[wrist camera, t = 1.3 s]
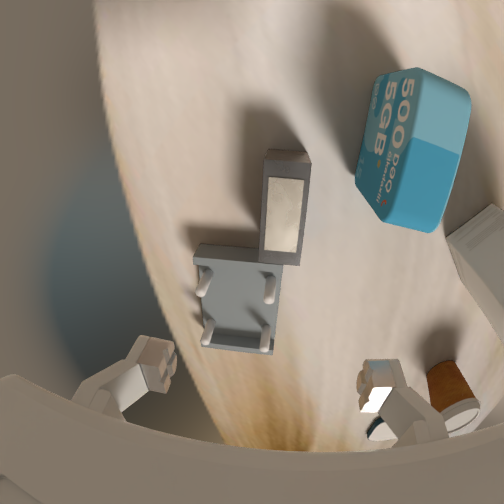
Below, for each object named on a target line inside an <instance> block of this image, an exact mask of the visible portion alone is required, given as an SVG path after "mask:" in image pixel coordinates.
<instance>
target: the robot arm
mask: <svg viewBox="0 0 504 504" xmlns="http://www.w3.org/2000/svg"><path fill="white" fill-rule="evenodd" d="M174 348H175V347H174V343H173V342H172V341H167V340H162V339H158V338H153V337H148V336H143V335H140V336H139V337H138V339H137V340H136V342H135V344H134V345H133V347H132V349H131V351H130V353H129V354H128V356H127V358H126V359H125V360H121V361H119V362H117V363H115V364H114V365H112V366H110V367H108V368H106V369H104V370H103V371H101V372H99V373H97V374H95V375H93V376H92V377H90V378H88V379H86V380H84V381H83V382H82V383H81V385H80V386H79V388H78V390H77V391H76V393H75V395H74V396H73V398H72V400H71V401H69V400H67V399H65V398H62V397H60V396H58V395H56V394H54V393H52V392H49V391H47V390H45V389H43V388H41V387H39V386H37V385H35V384H33V383H32V382H30V381H28V380H26V379H24V378H22V377H21V376H19V375H15V374H12V375H8V376H5V377H3V378H0V504H504V423H501V424H497V425H494V426H491V427H488V428H485V429H481V430H478V431H474V432H471V433H467V434H463V435H459V436H455V437H451V438H449V435H448V432H447V428H446V425H445V422H444V418H443V416H442V415H441V414H440V413H439V412H438V411H437V410H435V409H434V408H433V407H432V406H431V405H430V404H429V403H428V402H427V401H426V400H424V399H423V398H422V397H421V396H420V395H419V394H418V393H417V392H416V391H414V390H413V389H412V388H411V387H407V384H406V380H405V377H404V374H403V371H402V368H401V364H400V361H399V360H398V359H366V360H365V361H364V363H363V370H362V371H360V372H359V374H358V377H357V392H358V393H359V394H360V395H361V396H360V398H359V400H358V401H359V407H360V412H378V414H379V415H380V416H381V418H382V419H383V420H384V421H385V423H386V424H387V425H388V427H389V428H390V429H391V430H392V432H393V433H394V434H395V435H396V437H397V438H398V439H399V440H398V441H397V442H396V443H395V444H394V445H393V446H392V448H386V449H376V450H364V451H347V452H295V451H277V450H264V449H254V448H245V447H237V446H229V445H223V444H216V443H211V442H205V441H199V440H194V439H189V438H185V437H180V436H176V435H171V434H167V433H163V432H160V431H155V430H152V429H148V428H145V427H141V426H138V425H135V424H131V423H128V422H126V420H125V418H124V417H123V415H122V413H121V412H122V411H123V410H125V409H126V408H127V407H129V406H130V405H131V404H132V403H134V402H135V401H136V400H137V399H139V398H140V397H141V396H143V395H144V394H145V393H146V392H148V390H151V391H156V392H161V393H167V391H168V388H169V386H170V383H171V381H170V377H171V376H172V375H173V374H174V373H175V370H176V365H177V357H176V354H175V353H174V352H173V351H174Z"/></svg>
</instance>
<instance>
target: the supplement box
mask: <svg viewBox="0 0 504 504" xmlns="http://www.w3.org/2000/svg"><path fill="white" fill-rule="evenodd" d="M446 241H447V243H448V246H449V248H450V251H451V254H452V256H453V259H454V262H455V264H456V267H457V270H458V273H459V276H460V279H461V281H462V283H463V284H464V286H465V287H466V288H467V290H468V291H469V293H470V294H471V296H472V297H473V298H474V300H475V301H476V303H477V304H478V306H479V307H480V308H481V310H482V311H483V313H484V314H485V316H486V317H487V319H488V321H489V322H490V324H491V325H492V327H493V329H494V330H495V332H496V333H497V335H498V337H499V338H500V340H501V342H502V344H503V345H504V211H503V210H501V209H500V208H498V207H497V206H496V205H494V204H493V203H491V204H490V205H489V206H487V207H486V208H485V209H484V210H482V211H481V212H480V213H478V214H477V215H476V216H475V217H473V218H472V219H471V220H469V221H468V222H467V223H465V224H464V225H463V226H461V227H460V228H458V229H457V230H456V231H454V232H453V233H452V234H450V235H449V236H447V237H446Z"/></svg>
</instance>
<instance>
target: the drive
mask: <svg viewBox="0 0 504 504" xmlns="http://www.w3.org/2000/svg"><path fill="white" fill-rule="evenodd" d="M311 164H312V163H311V161H310V158H309V155H308V153H307V152H301V151H290V150H278V149H268V151H267V153H266V156H265V158H264V167H263V186H262V205H261V224H260V242H259V260H258V262H262V263H273V264H284V265H295V266H300V258H301V251H302V243H303V236H304V228H305V220H306V211H307V202H308V193H309V184H310V174H311Z"/></svg>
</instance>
